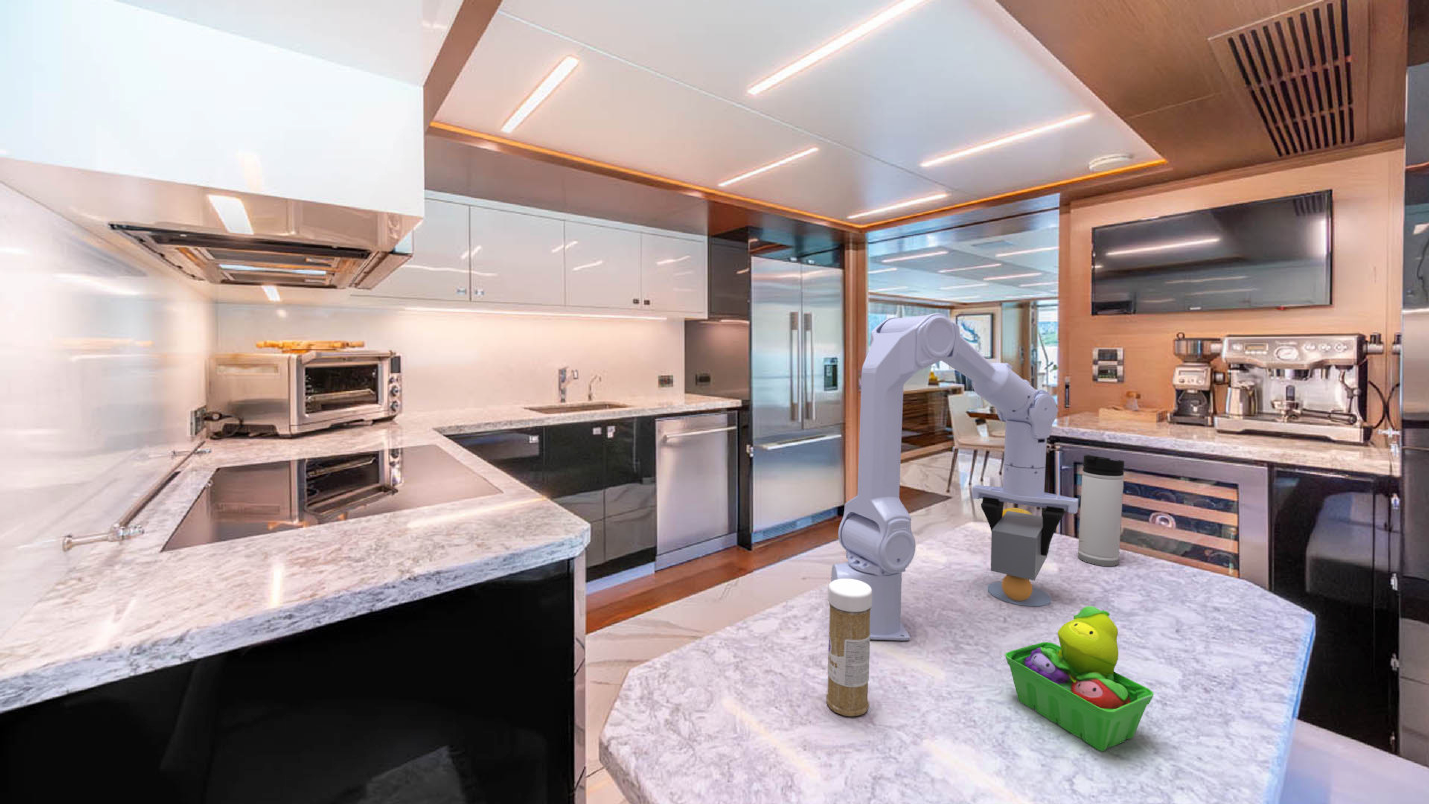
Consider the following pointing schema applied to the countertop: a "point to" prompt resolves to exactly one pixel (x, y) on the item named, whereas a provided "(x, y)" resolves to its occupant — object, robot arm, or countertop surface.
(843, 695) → the spice jar
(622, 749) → the countertop surface
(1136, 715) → the fruit basket
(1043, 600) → the disc
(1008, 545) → the grey rectangular block
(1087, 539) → the travel mug
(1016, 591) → the ball
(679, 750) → the countertop surface
